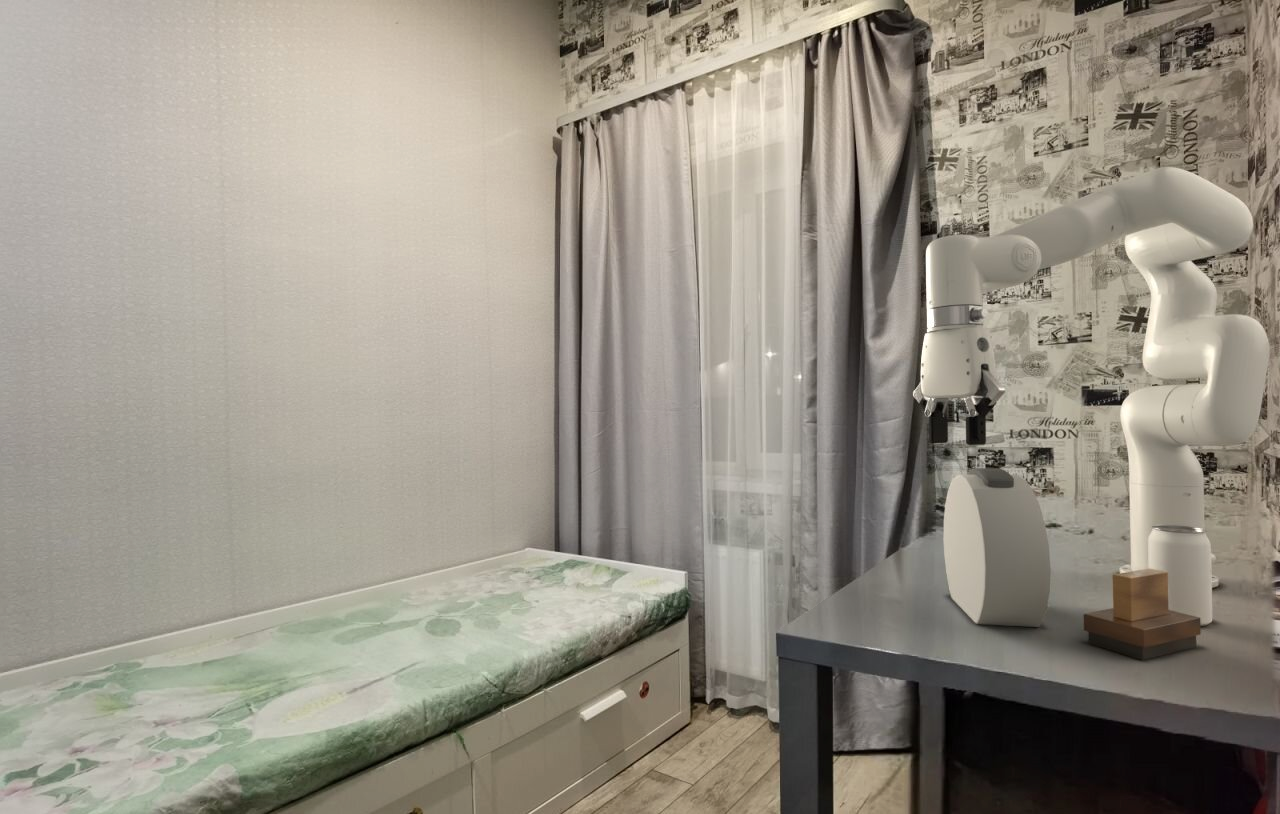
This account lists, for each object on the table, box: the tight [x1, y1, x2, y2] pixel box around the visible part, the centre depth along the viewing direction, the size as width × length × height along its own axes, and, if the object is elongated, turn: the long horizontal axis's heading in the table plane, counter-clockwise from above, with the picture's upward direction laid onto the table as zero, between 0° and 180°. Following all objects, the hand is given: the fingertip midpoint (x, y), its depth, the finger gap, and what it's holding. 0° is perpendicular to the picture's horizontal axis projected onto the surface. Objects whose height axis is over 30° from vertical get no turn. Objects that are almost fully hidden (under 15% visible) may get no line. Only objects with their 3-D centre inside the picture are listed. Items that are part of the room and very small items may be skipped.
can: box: [1148, 525, 1213, 627], centre depth 88 cm, size 6×6×12 cm
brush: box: [1083, 569, 1202, 661], centre depth 78 cm, size 11×7×8 cm, turn 113°
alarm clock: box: [943, 467, 1052, 628], centre depth 92 cm, size 21×8×20 cm, turn 168°
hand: (956, 442), depth 97 cm, fingers open, 6 cm apart
